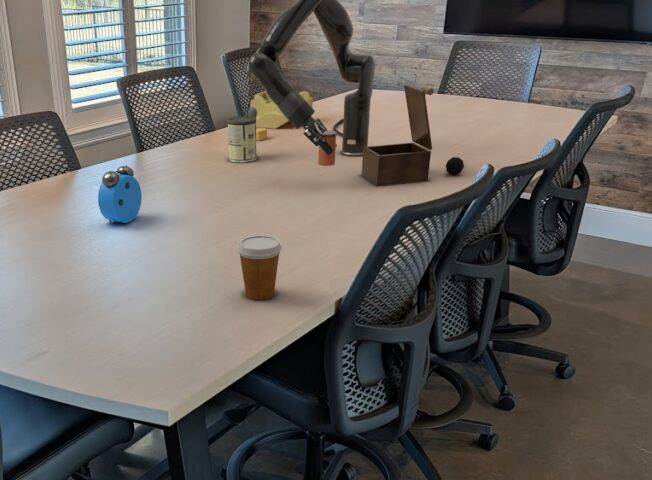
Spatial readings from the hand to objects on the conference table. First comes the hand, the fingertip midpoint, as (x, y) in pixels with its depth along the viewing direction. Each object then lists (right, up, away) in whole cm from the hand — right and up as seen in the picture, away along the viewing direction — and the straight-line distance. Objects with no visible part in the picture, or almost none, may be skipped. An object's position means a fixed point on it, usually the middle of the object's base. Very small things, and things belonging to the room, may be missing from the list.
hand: (332, 150), depth 223 cm
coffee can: (-27, +10, +41) cm, 50 cm away
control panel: (-10, +41, +92) cm, 101 cm away
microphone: (+45, -1, +18) cm, 48 cm away
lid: (+27, +11, +3) cm, 29 cm away
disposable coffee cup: (-26, -53, -63) cm, 86 cm away
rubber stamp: (-22, +27, +70) cm, 78 cm away
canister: (-2, -3, +3) cm, 5 cm away
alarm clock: (-63, -26, -16) cm, 70 cm away
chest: (+22, -5, +12) cm, 25 cm away
